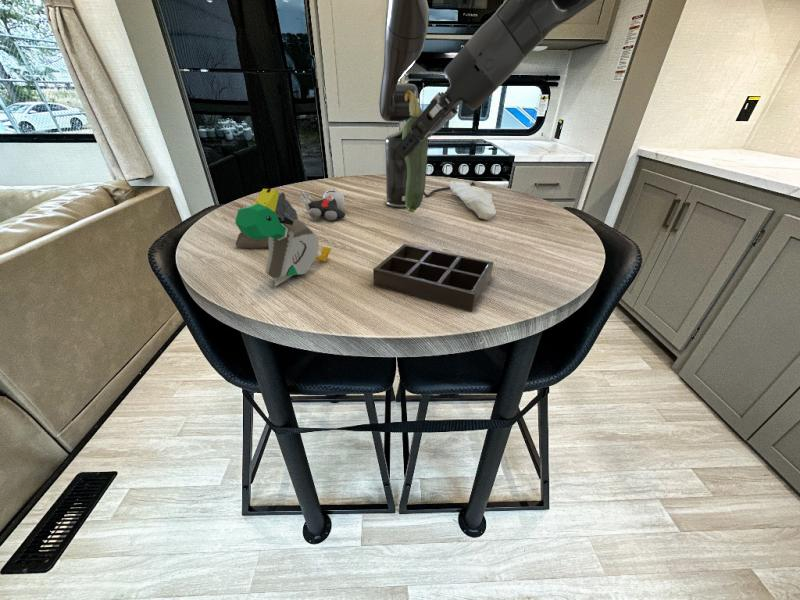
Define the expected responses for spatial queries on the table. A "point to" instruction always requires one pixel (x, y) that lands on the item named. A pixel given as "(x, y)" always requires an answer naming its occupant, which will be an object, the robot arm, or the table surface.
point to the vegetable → (415, 159)
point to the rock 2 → (474, 199)
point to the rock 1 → (281, 210)
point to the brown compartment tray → (434, 275)
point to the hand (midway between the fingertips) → (404, 150)
